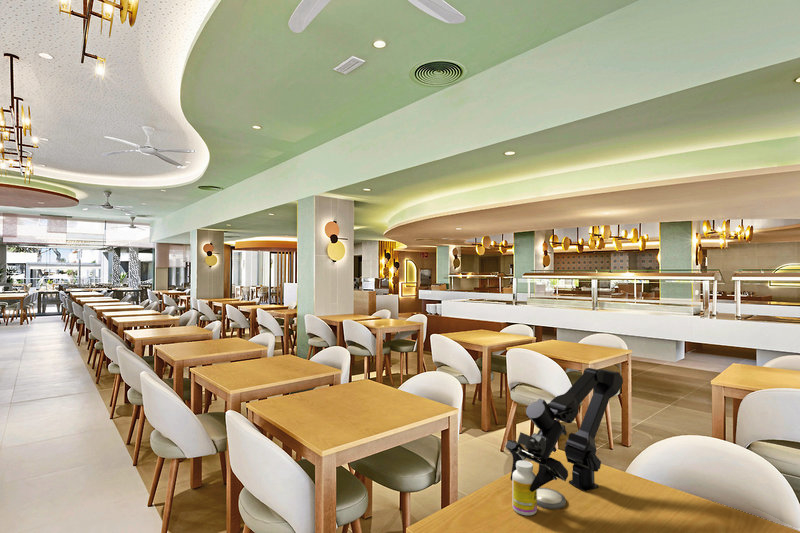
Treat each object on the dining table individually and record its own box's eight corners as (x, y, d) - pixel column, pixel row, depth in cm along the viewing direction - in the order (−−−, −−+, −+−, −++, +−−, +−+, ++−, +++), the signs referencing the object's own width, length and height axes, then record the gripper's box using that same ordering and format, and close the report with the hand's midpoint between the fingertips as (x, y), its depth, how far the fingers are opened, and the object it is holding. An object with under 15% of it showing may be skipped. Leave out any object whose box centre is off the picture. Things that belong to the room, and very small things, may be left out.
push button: (546, 488, 129) (546, 484, 129) (573, 503, 120) (573, 499, 120) (522, 495, 124) (522, 492, 124) (548, 512, 115) (548, 508, 115)
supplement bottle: (538, 518, 113) (538, 470, 113) (513, 515, 114) (513, 468, 114) (535, 505, 119) (535, 459, 120) (511, 502, 120) (511, 457, 121)
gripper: (509, 413, 127) (482, 457, 121) (561, 432, 111) (533, 484, 105) (527, 433, 131) (502, 477, 125) (579, 455, 115) (554, 507, 109)
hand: (520, 485), depth 116 cm, fingers closed on supplement bottle, 7 cm apart
